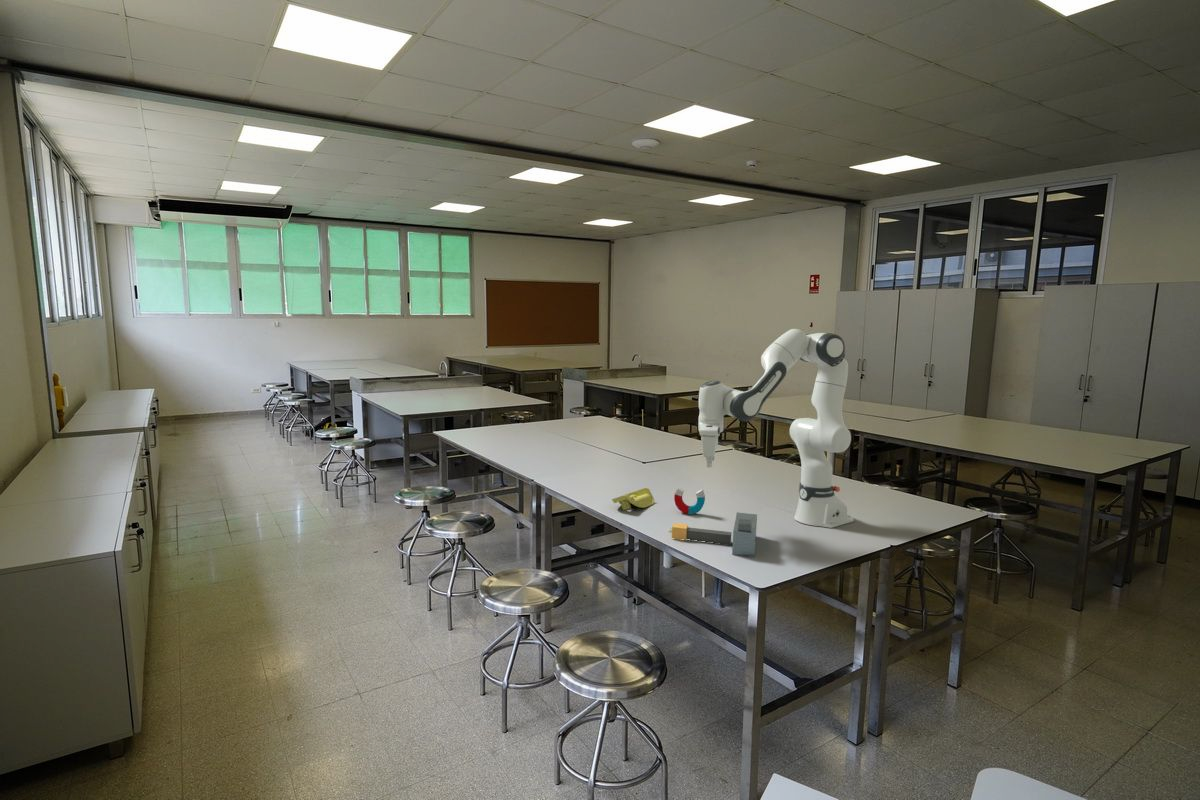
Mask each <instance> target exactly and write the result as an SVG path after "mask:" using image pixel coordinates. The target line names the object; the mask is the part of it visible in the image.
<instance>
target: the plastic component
mask: <svg viewBox="0 0 1200 800" xmlns="http://www.w3.org/2000/svg"><path fill="white" fill-rule="evenodd" d="M611 501H612V502H613V503H614V504H616V503H619V505H620V506H621V509H622V511H625V510H629V509H632V506H631V504H632V505H633V506H635V507H638V508H641V509H645V508H647V507H650V506H652V505H654V504H655V498H654V496H653V494H652V492H651V490H650V488H648V487H643V488H642V489H639V490H634V491H632V492H630V493H626V494H624V495H621V496H618V497H615V498H612V499H611Z"/></svg>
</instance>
